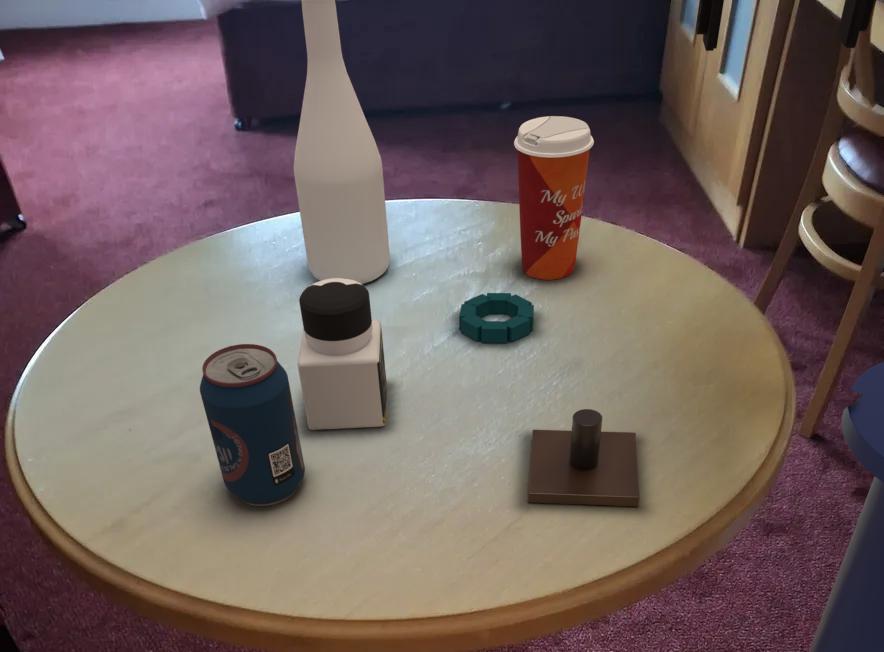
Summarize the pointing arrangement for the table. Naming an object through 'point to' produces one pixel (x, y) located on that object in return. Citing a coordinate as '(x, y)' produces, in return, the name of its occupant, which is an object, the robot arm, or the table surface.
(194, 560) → the table surface
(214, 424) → the soda can
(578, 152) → the coffee cup
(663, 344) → the table surface
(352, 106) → the wine bottle
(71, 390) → the table surface
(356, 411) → the medicine bottle
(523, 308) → the ring
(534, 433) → the ring post
